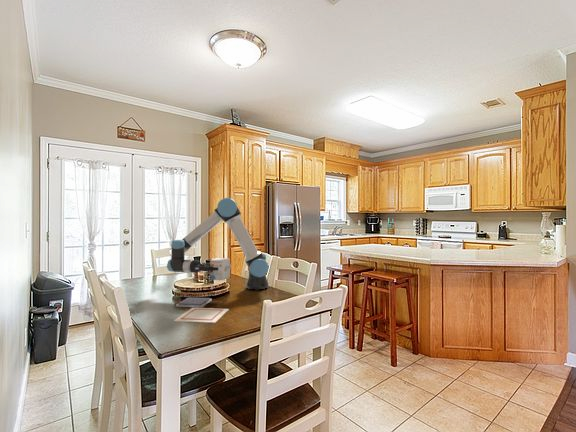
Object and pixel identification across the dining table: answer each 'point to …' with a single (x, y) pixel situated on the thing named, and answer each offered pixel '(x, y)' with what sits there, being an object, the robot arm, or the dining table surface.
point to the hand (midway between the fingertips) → (227, 267)
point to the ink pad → (194, 302)
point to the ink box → (220, 274)
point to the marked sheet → (202, 315)
